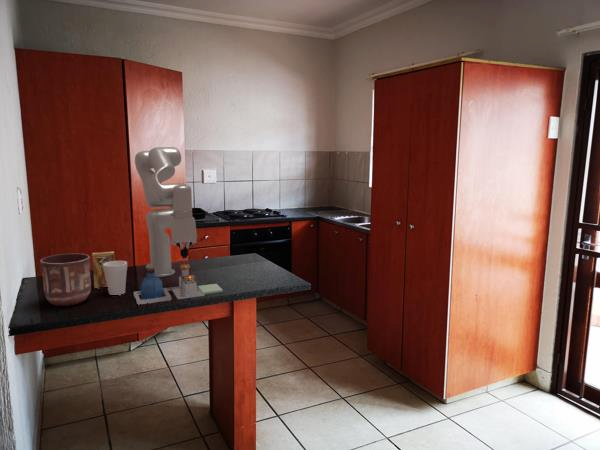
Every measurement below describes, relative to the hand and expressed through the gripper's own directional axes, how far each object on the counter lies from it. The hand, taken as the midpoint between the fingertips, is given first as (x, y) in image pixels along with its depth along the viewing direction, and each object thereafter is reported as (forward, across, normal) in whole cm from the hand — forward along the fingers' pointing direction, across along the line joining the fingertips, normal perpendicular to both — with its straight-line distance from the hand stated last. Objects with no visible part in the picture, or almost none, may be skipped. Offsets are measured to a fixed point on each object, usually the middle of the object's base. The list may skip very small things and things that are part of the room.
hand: (184, 257), depth 196 cm
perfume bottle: (+15, -14, -4) cm, 21 cm away
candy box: (+15, -31, +20) cm, 40 cm away
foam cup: (+15, -27, +8) cm, 32 cm away
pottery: (+15, -45, +5) cm, 48 cm away
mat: (+14, +9, -4) cm, 17 cm away
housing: (+14, -7, -4) cm, 17 cm away
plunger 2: (+13, 0, -8) cm, 15 cm away
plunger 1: (+11, 0, 0) cm, 11 cm away
